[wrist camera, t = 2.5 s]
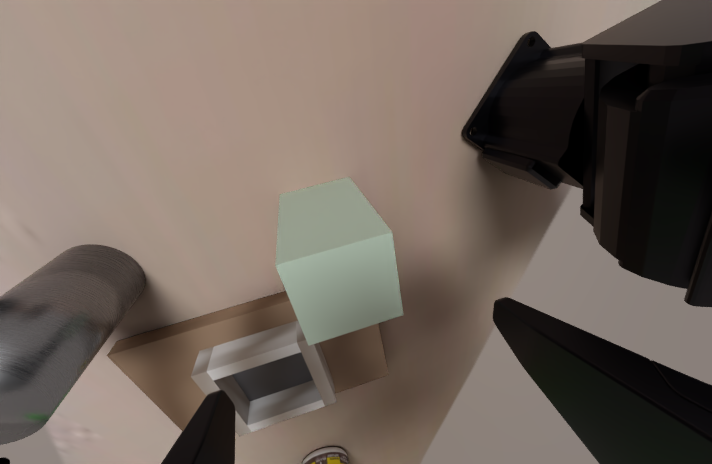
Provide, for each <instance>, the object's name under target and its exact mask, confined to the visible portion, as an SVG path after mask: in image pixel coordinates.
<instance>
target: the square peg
mask: <svg viewBox="0 0 712 464" xmlns="http://www.w3.org/2000/svg"><path fill="white" fill-rule="evenodd" d="M275 265H276V268H277V270H278V273H279V275H280V278H281V280H282V282H283V285H284V287H285V290H286V292H287V295H288V297H289V299H290V302H291V304H292V307H293V309H294V312H295V314H296V316H297V319H298V321H299V324H300V326H301V329H302V331H303V333H304V336H305V338H306V341H307V343H308V346H310V345H313V344H316V343H319V342H322V341H325V340H328V339H331V338H334V337H337V336H340V335H344V334H347V333H350V332H353V331H356V330H359V329H362V328H365V327H368V326H371V325H374V324H378V323H381V322H384V321H387V320H390V319H393V318H396V317H399V316H402V315H403V308H402V301H401V294H400V286H399V279H398V272H397V264H396V257H395V249H394V242H393V235H392V231H391V230H390V229H389V227H388V226H387V225H386V224H385V222H384V221H383V220H382V218H381V217H380V216H379V215H378V213H377V212H376V211H375V209H374V208H373V207H372V205H371V204H370V203H369V202H368V200H367V199H366V198H365V196H364V195H363V194H362V193H361V191H360V190H359V189H358V187H357V186H356V185H355V184H354V182H353V181H352V180H351V178H350V177H346V178H342V179H338V180H335V181H331V182H327V183H323V184H319V185H315V186H311V187H307V188H303V189H299V190H295V191H291V192H287V193H284V194H280V199H279V215H278V232H277V248H276V264H275Z"/></svg>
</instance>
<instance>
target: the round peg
mask: <svg viewBox="0 0 712 464" xmlns="http://www.w3.org/2000/svg"><path fill="white" fill-rule="evenodd" d="M144 287H145V275H144V272H143V270H142V268H141V267H140V266H139V264H138V263H137V262H136V261H135V260H134V259H133V258H131V257H130V256H128V255H127V254H125V253H123V252H121V251H119V250H117V249H114V248H111V247H107V246H102V245H81V246H76V247H73V248H70V249H68V250H66V251H64V252H63V253H61V254H60V255H59V256H57V257H56V258H54V259H53V260H52V261H50V262H49V263H47V264H46V265H44V266H43V267H42V268H40V269H39V270H37V271H36V272H35V273H33V274H32V275H30V276H29V277H27V278H26V279H25V280H23V281H22V282H20V283H19V284H18V285H16V286H15V287H13V288H12V289H10V290H9V291H8V292H6V293H5V294H3V295H2V296H1V297H0V445H1V444H6V443H10V442H14V441H17V440H20V439H23V438H25V437H28V436H30V435H32V434H33V433H35V432H37V431H38V430H39V429H41V428H42V427H43V426H44V425H45V424H46V422H47V421H48V420H49V418H50V417H51V416H52V414H53V413H54V411H55V410H56V409H57V407H58V406H59V405H60V403H61V402H62V401H63V399H64V398H65V396H66V395H67V394H68V392H69V391H70V390H71V388H72V387H73V385H74V384H75V383H76V381H77V380H78V379H79V377H80V376H81V374H82V373H83V372H84V370H85V369H86V368H87V366H88V365H89V364H90V362H91V361H92V359H93V358H94V357H95V355H96V354H97V353H98V351H99V350H100V348H101V347H102V346H103V344H104V343H105V342H106V340H107V339H108V338H109V336H110V335H111V333H112V332H113V331H114V329H115V328H116V327H117V325H118V324H119V322H120V321H121V320H122V318H123V317H124V316H125V314H126V313H127V312H128V310H129V309H130V307H131V306H132V305H133V303H134V302H135V301H136V299H137V298H138V296H139V295H140V294H141V292H142V291H143V289H144Z"/></svg>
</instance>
